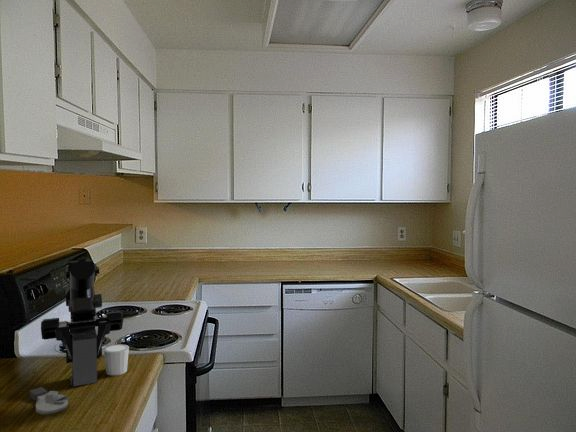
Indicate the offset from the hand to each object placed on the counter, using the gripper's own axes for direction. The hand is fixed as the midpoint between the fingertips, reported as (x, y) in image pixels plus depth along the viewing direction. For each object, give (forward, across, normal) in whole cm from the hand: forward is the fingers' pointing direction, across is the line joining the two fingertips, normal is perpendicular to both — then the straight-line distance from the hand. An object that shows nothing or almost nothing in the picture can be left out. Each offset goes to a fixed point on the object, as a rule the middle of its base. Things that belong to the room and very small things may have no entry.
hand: (84, 355), depth 106 cm
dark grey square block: (+4, 0, +6) cm, 7 cm away
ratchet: (+5, -9, +13) cm, 16 cm away
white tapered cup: (-4, +9, +22) cm, 24 cm away
